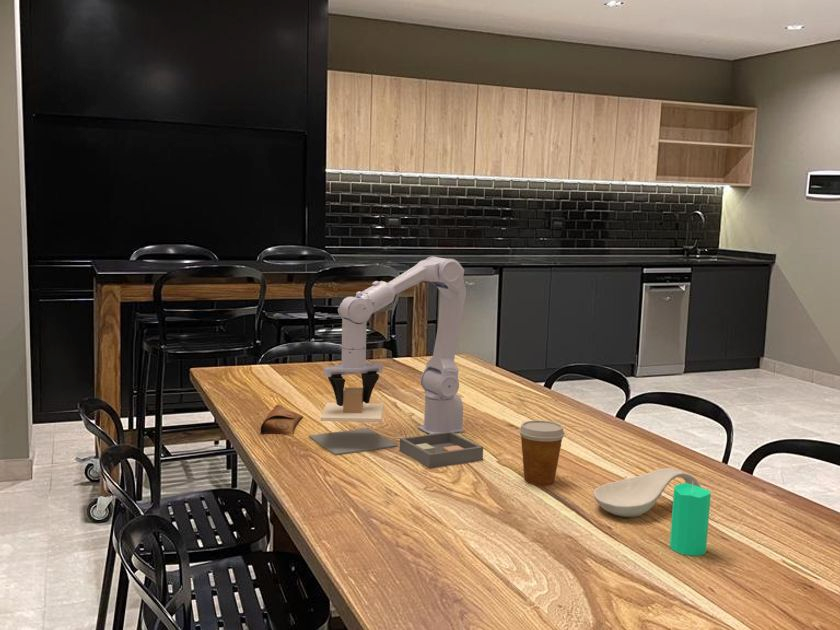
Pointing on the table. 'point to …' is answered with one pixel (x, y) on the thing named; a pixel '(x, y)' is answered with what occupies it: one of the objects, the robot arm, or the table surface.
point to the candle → (690, 519)
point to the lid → (353, 408)
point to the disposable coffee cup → (540, 451)
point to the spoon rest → (637, 492)
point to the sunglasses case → (280, 421)
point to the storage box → (441, 449)
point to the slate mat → (352, 441)
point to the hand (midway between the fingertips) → (353, 403)
